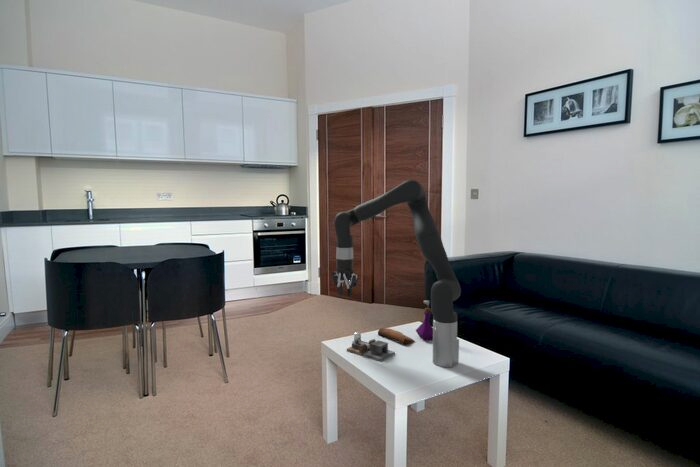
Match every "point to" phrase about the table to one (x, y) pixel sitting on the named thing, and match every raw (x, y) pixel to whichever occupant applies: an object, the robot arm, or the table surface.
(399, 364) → the table surface
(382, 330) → the sunglasses case
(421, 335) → the perfume bottle
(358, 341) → the steel bolt
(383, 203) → the robot arm
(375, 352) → the plate
